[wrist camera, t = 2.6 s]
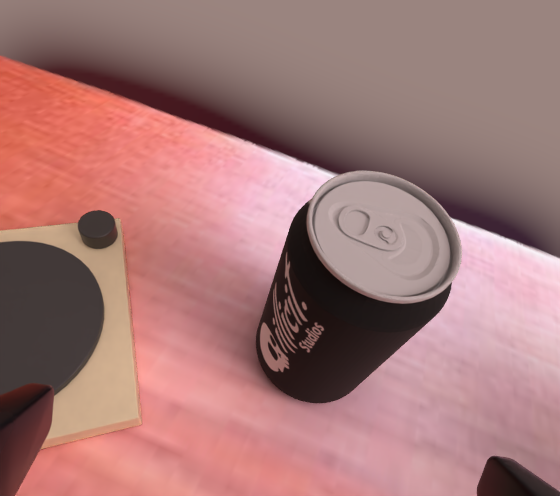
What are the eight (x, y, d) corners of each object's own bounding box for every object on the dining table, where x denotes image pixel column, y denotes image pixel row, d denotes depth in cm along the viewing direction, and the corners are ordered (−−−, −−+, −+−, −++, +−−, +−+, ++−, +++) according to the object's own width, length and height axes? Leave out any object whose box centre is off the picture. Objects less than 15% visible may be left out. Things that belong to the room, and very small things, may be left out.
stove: (142, 424, 21) (136, 411, 19) (-158, 498, 17) (-211, 492, 15) (123, 232, 27) (117, 205, 25) (-102, 258, 23) (-134, 229, 21)
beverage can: (343, 428, 22) (458, 347, 13) (234, 373, 23) (264, 256, 13) (375, 327, 26) (484, 205, 16) (281, 282, 27) (332, 139, 17)
